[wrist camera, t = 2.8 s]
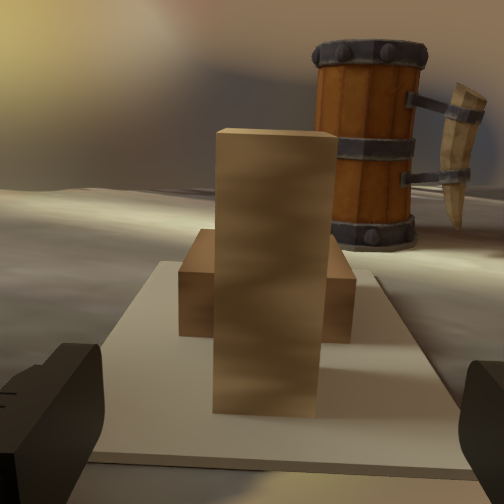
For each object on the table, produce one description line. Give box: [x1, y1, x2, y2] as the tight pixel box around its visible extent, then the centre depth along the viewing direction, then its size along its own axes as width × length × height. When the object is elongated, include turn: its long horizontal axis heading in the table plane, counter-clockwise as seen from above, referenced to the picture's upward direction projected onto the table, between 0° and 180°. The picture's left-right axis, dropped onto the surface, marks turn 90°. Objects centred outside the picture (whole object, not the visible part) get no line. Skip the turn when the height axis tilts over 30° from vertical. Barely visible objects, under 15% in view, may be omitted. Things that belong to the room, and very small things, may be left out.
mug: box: [312, 39, 487, 252], centre depth 51 cm, size 19×14×20 cm
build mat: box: [87, 261, 478, 481], centre depth 30 cm, size 18×24×1 cm
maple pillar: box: [212, 128, 339, 418], centre depth 22 cm, size 4×4×12 cm
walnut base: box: [178, 229, 357, 344], centre depth 32 cm, size 10×10×4 cm
